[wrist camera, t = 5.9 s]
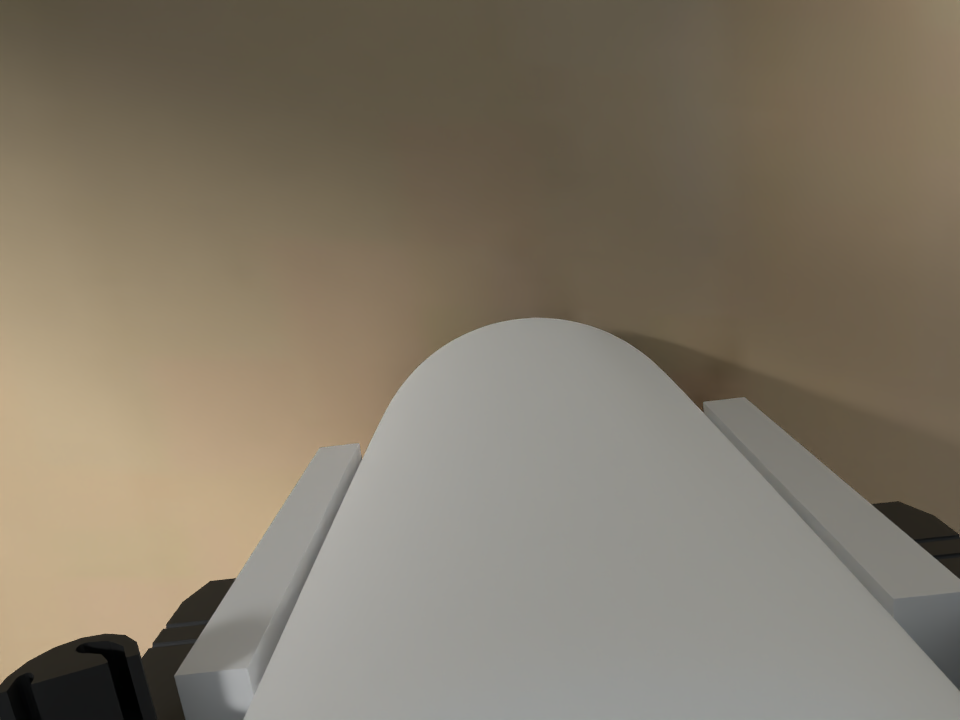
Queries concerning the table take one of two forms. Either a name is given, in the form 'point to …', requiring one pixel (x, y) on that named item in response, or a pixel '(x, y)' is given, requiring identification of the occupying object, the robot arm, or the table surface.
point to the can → (578, 562)
